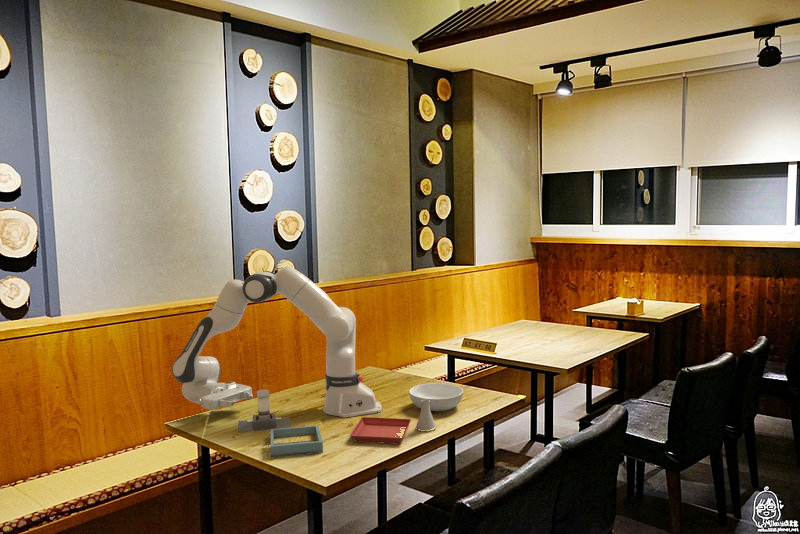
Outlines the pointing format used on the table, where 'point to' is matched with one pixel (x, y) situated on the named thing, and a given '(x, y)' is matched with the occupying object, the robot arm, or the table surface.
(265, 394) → the cylinder
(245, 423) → the board
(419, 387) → the serving bowl
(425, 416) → the flask
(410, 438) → the table surface
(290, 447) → the tray
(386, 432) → the plant saucer
